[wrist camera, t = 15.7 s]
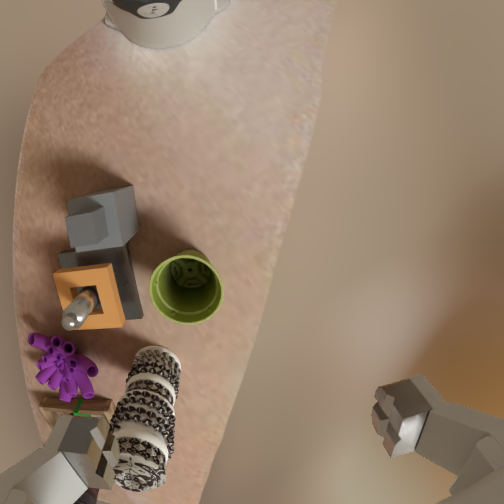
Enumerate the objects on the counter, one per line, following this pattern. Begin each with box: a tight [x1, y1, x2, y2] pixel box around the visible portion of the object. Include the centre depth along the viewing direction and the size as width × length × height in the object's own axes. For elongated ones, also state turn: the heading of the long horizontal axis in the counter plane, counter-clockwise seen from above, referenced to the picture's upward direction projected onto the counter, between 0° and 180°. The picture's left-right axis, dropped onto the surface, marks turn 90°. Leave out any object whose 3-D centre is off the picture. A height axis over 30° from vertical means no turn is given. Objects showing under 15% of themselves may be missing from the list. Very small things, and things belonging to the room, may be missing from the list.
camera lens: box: [73, 487, 99, 504], centre depth 52 cm, size 8×8×15 cm
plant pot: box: [149, 250, 224, 325], centre depth 43 cm, size 9×9×9 cm
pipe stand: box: [58, 243, 143, 331], centre depth 40 cm, size 12×12×14 cm
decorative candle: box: [109, 345, 181, 492], centre depth 40 cm, size 9×9×25 cm
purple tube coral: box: [28, 333, 98, 402], centre depth 46 cm, size 11×15×10 cm
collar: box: [53, 263, 126, 330], centre depth 42 cm, size 9×9×2 cm
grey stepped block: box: [65, 185, 140, 253], centre depth 38 cm, size 7×7×13 cm
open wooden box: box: [39, 397, 116, 434], centre depth 53 cm, size 10×17×4 cm, turn 95°
